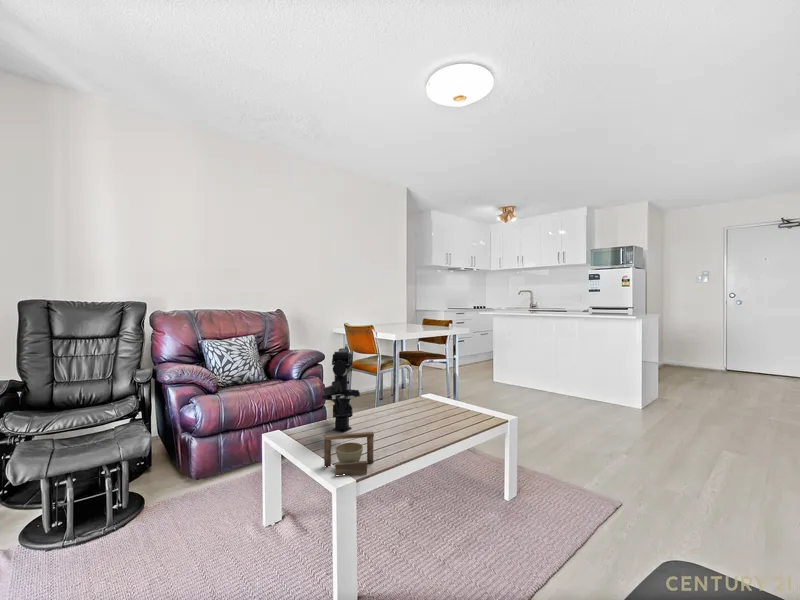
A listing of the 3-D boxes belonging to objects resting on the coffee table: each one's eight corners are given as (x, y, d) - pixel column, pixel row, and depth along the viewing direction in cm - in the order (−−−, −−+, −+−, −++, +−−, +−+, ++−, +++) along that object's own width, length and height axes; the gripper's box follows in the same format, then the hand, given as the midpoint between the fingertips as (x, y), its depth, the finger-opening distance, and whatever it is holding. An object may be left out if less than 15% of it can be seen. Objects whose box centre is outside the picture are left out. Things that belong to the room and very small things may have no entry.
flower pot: (350, 458, 151) (350, 440, 151) (368, 466, 144) (368, 447, 144) (330, 466, 143) (330, 447, 143) (347, 475, 137) (347, 455, 137)
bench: (324, 464, 145) (324, 435, 145) (372, 460, 149) (372, 431, 149) (324, 477, 135) (324, 445, 135) (377, 472, 139) (377, 441, 139)
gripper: (313, 380, 173) (311, 416, 168) (341, 374, 162) (340, 413, 156) (332, 382, 181) (331, 417, 176) (360, 377, 170) (360, 414, 164)
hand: (340, 415), depth 168 cm, fingers closed
